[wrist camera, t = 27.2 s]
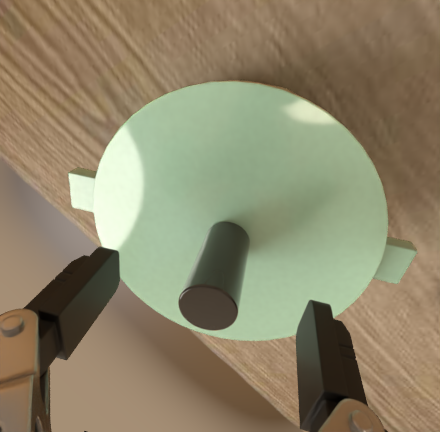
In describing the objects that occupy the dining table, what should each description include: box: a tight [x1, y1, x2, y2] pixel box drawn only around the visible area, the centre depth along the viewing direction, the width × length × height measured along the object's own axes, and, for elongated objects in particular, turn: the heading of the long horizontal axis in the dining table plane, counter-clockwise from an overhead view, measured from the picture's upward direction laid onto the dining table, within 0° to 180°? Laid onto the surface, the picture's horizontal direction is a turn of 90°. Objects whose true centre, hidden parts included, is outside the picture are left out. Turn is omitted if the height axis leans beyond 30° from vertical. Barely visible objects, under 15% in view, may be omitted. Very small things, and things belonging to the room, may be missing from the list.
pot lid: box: [93, 80, 388, 341], centre depth 14 cm, size 16×16×6 cm
